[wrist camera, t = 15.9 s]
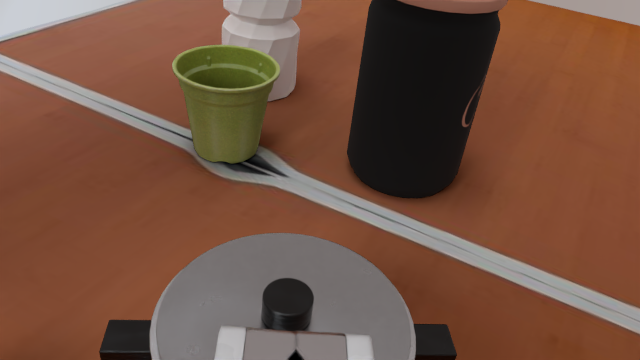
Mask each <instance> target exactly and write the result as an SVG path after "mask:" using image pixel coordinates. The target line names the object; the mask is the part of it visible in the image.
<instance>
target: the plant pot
mask: <svg viewBox="0 0 640 360" xmlns="http://www.w3.org/2000/svg"><path fill="white" fill-rule="evenodd" d="M172 68H173V72H174V74H175V76H176V77H177V78H178V79H179V83H180V86H181V88H182V90H183V91H184V96H185V101H186V106H187V112H188V117H189V122H190V128H191V133H192V138H193V144H194V148H195V151H196V152H197V154H198V155H199V156H201V157H202V158H204V159H206V160H208V161H211V162H217V161H224V162H228V163H231V164H233V163H239V162H242V161H245V160H247V159H249V158H251V157H252V156H253V155H254V154H255V153H256V151H257V149H258V145H259V140H260V135H261V130H262V124H263V120H264V115H265V110H266V106H267V101H268V96H269V93H270V92H271V90H272V88H273V84H274V82H275V81H276V80H277V79H278V77H279V75H280V66H279V64H278V63H277V61H276V60H275V59H274V58H272V57H271V56H269V55H268V54H266V53H263V52H261V51H259V50H255V49H252V48H247V47H242V46H234V45H209V46H201V47H197V48H193V49H190V50H187V51H185V52H183V53H181V54H180V55H178V56H177V57H176V58H175V59H174V61H173V64H172Z"/></svg>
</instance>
